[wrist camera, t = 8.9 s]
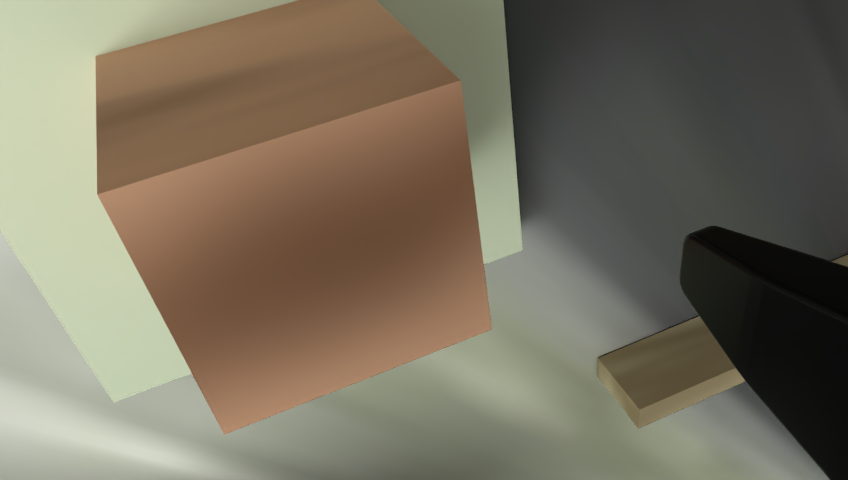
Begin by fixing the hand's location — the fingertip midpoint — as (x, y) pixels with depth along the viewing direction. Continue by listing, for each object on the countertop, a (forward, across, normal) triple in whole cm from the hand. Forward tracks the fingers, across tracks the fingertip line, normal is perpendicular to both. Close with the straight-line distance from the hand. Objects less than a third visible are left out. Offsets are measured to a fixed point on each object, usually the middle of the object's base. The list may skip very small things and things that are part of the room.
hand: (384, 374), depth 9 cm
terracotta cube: (+7, 0, 0) cm, 7 cm away
